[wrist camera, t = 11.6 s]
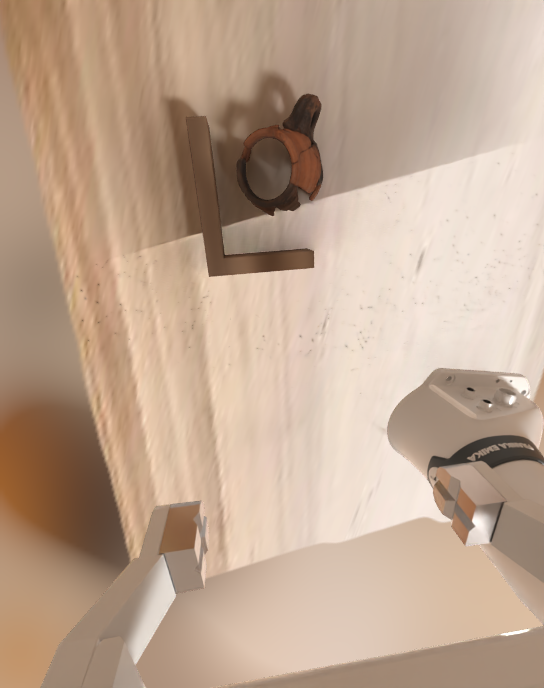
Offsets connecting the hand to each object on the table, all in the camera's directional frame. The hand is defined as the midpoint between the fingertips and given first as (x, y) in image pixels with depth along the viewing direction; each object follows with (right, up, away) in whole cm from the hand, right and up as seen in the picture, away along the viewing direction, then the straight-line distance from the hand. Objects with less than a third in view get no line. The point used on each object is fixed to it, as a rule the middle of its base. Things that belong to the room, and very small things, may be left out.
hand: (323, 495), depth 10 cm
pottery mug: (+1, +28, +27) cm, 39 cm away
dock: (-4, +23, +27) cm, 36 cm away
